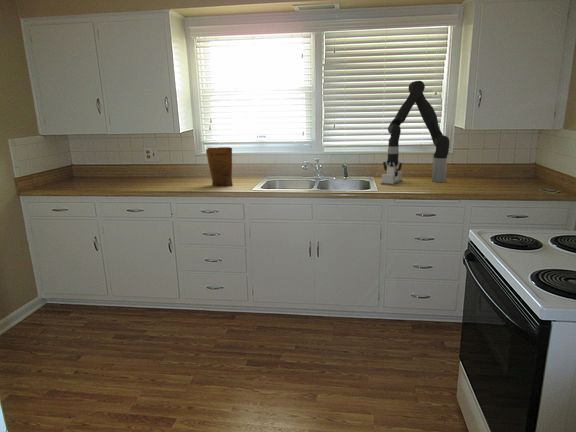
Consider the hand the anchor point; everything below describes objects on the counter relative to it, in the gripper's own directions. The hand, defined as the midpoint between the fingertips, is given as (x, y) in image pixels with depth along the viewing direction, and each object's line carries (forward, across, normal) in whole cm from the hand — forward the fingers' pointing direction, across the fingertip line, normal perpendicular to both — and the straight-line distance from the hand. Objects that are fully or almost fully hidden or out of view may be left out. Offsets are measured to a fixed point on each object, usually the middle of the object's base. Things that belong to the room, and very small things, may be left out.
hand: (392, 176), depth 309 cm
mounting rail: (+5, 0, 0) cm, 5 cm away
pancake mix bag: (+5, +102, +69) cm, 124 cm away
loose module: (+2, 0, 0) cm, 2 cm away
